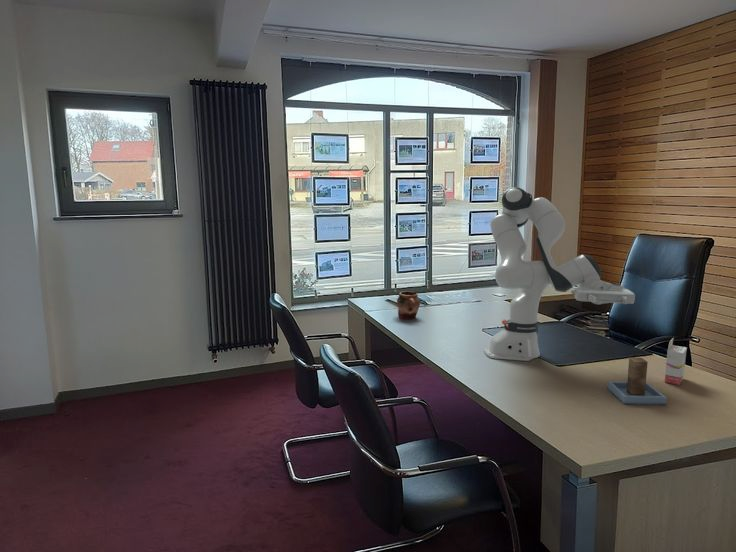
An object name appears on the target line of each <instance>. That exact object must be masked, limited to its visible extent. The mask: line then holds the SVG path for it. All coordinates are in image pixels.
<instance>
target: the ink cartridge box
mask: <svg viewBox="0 0 736 552" xmlns="http://www.w3.org/2000/svg"><path fill="white" fill-rule="evenodd" d="M674 339H675V338H674V337H673V338H671V339H670V341H669V343H668V348H667V353H666V363H665V364H666V365H665V373H664V375H665V376H664V377H665V378H664V383H668V384H672V385H677V386H680V385H681V383H682V382H683V380H684V375H685V365H686V357H687V350H688V347H686V346H679V345H674V344H673V343H674Z"/></svg>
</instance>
